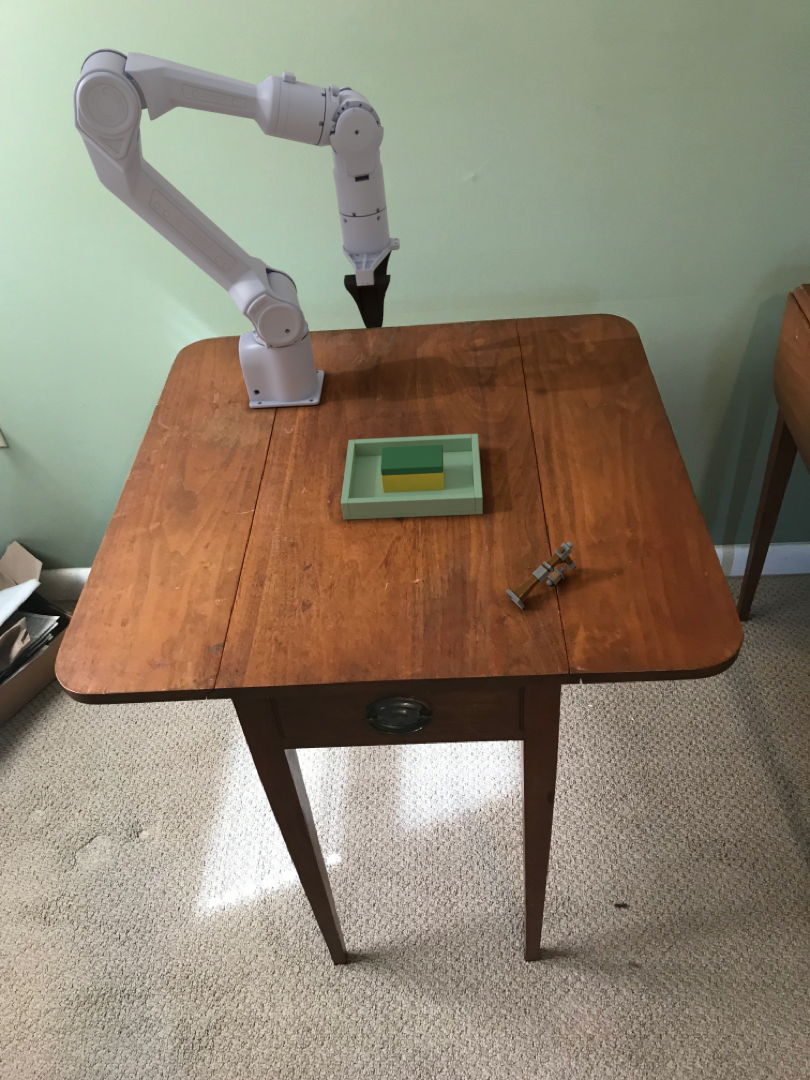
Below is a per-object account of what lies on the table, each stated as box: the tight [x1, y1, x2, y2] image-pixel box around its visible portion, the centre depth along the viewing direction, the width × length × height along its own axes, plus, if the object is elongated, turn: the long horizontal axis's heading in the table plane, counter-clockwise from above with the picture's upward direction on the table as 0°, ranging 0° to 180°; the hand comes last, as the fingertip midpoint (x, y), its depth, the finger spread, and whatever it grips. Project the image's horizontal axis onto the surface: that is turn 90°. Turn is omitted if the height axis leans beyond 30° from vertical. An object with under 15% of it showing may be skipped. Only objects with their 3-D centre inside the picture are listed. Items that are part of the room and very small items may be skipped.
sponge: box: [381, 445, 444, 492], centre depth 88 cm, size 7×4×4 cm, turn 88°
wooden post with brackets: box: [505, 541, 578, 610], centre depth 76 cm, size 2×8×4 cm, turn 123°
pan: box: [340, 433, 484, 521], centre depth 89 cm, size 16×12×2 cm
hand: (375, 312), depth 101 cm, fingers open, 7 cm apart
